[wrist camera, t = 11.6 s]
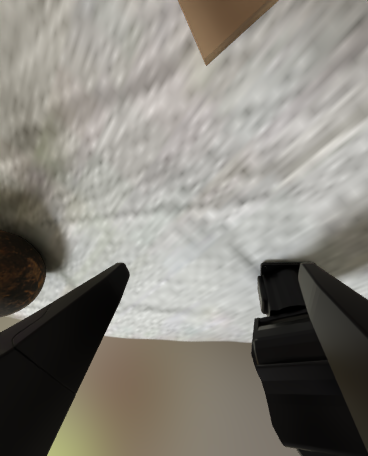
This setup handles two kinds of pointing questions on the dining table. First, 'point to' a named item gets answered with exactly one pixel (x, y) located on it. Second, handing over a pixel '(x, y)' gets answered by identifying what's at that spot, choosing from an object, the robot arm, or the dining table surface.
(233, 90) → the dining table surface
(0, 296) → the glass bottle
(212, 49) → the housing board
